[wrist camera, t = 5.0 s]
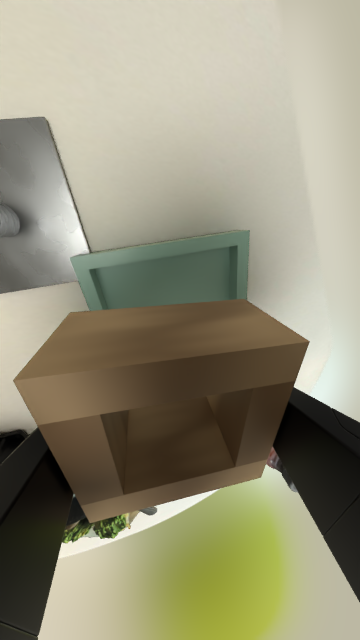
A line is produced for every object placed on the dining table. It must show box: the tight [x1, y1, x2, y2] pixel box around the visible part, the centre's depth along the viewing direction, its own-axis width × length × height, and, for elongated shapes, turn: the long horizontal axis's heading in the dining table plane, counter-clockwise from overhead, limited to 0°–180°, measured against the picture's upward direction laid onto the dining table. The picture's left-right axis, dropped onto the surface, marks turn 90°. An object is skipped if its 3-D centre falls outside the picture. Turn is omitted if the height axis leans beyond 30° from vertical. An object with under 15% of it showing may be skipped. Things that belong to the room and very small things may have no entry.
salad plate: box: [62, 494, 157, 543], centre depth 31 cm, size 19×18×5 cm
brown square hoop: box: [13, 299, 310, 523], centre depth 7 cm, size 7×7×4 cm
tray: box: [70, 230, 250, 311], centre depth 18 cm, size 14×14×2 cm
